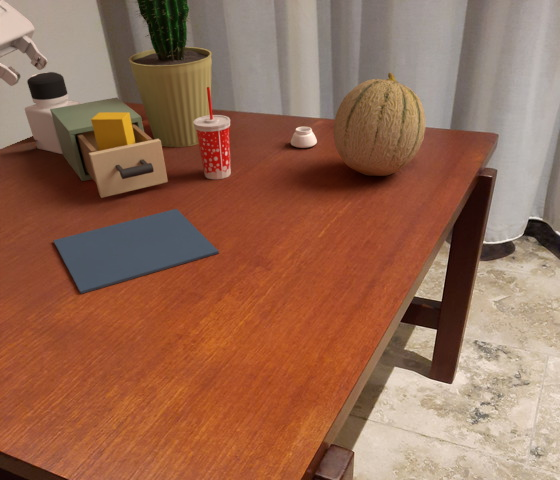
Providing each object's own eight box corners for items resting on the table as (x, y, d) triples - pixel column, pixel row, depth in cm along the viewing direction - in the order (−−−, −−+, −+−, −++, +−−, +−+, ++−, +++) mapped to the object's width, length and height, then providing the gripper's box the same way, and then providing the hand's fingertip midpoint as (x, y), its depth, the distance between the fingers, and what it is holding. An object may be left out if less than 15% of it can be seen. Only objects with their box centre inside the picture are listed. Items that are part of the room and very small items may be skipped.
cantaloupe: (324, 186, 91) (326, 88, 82) (340, 155, 102) (344, 64, 92) (415, 193, 88) (428, 91, 78) (422, 160, 99) (435, 66, 89)
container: (92, 142, 112) (74, 71, 104) (62, 155, 107) (40, 81, 99) (66, 137, 115) (46, 67, 107) (36, 148, 111) (13, 77, 102)
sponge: (134, 175, 93) (122, 119, 87) (104, 175, 93) (90, 119, 88) (140, 167, 96) (129, 112, 90) (112, 167, 96) (99, 112, 90)
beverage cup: (227, 165, 100) (219, 80, 91) (240, 176, 96) (233, 88, 87) (195, 171, 98) (183, 85, 89) (207, 183, 94) (196, 94, 85)
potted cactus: (201, 120, 120) (180, -53, 101) (233, 140, 110) (216, -49, 90) (133, 134, 115) (97, -46, 95) (160, 156, 105) (126, -41, 85)
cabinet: (150, 166, 101) (141, 116, 96) (82, 181, 97) (68, 130, 91) (126, 143, 111) (117, 97, 105) (63, 156, 107) (49, 109, 101)
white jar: (299, 139, 109) (285, 147, 106) (298, 123, 107) (285, 131, 104) (321, 142, 107) (308, 151, 104) (321, 126, 105) (308, 134, 102)
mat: (80, 294, 69) (80, 291, 69) (53, 242, 80) (53, 240, 80) (219, 253, 76) (218, 250, 76) (177, 210, 86) (176, 208, 86)
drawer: (177, 190, 90) (170, 148, 86) (108, 207, 86) (97, 163, 82) (142, 157, 102) (134, 119, 98) (81, 171, 98) (70, 131, 94)
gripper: (-25, 7, 90) (51, 72, 95) (-105, 32, 75) (-10, 108, 80) (-10, -28, 87) (67, 42, 92) (-91, -9, 71) (7, 73, 77)
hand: (31, 73), depth 86 cm, fingers open, 8 cm apart
